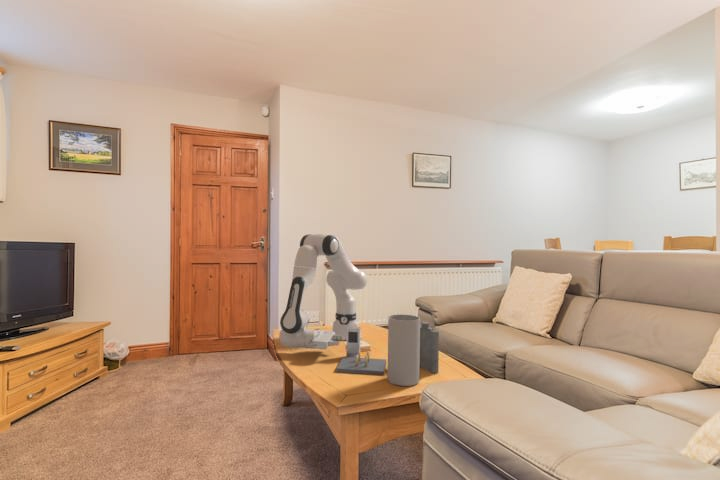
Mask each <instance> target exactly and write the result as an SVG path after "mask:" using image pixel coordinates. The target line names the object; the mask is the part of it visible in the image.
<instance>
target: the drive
mask: <svg viewBox="0 0 720 480" xmlns="http://www.w3.org/2000/svg"><path fill="white" fill-rule="evenodd" d="M360 332H361V327H360V326H358V327H348V328H347V340H346V354H345V355H346V356H345V357H353V358H355V356H356V355H358V351H359V350H360V351H361V338H360Z"/></svg>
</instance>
